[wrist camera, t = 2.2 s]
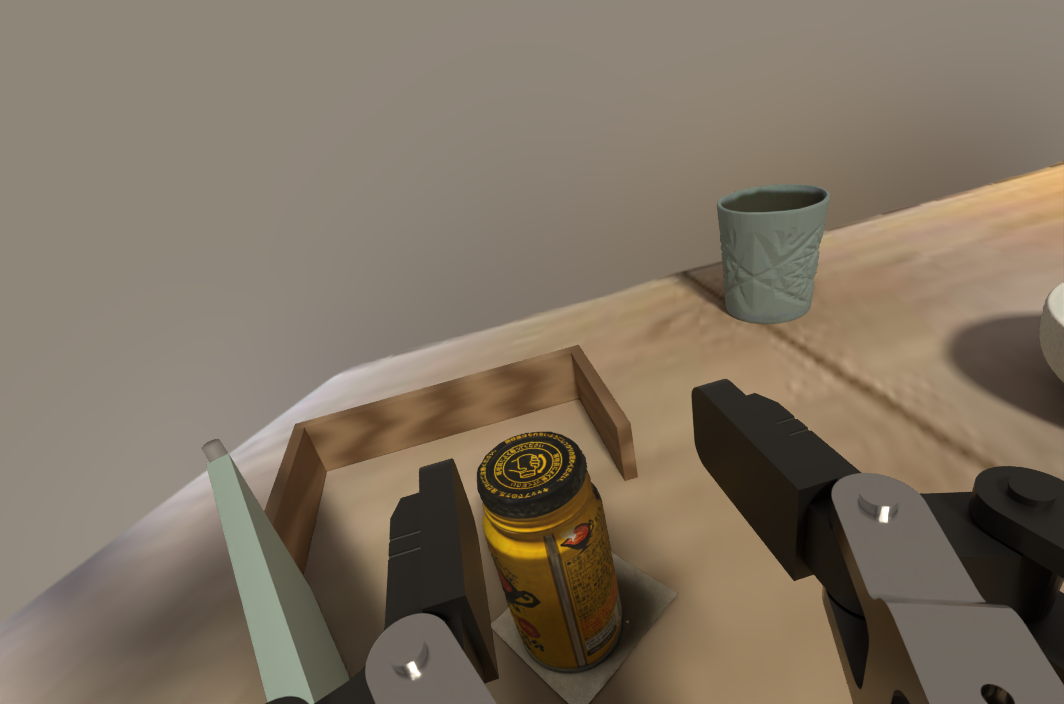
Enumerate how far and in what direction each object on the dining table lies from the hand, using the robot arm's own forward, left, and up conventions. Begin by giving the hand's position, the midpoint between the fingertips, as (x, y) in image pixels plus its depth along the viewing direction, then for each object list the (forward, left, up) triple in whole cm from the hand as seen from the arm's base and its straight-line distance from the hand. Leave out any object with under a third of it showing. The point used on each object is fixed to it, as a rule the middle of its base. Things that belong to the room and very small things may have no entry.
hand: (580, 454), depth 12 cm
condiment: (0, +10, -20) cm, 23 cm away
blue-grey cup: (+30, +38, -20) cm, 53 cm away
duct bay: (-6, +25, -20) cm, 33 cm away
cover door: (-13, +9, -20) cm, 26 cm away
